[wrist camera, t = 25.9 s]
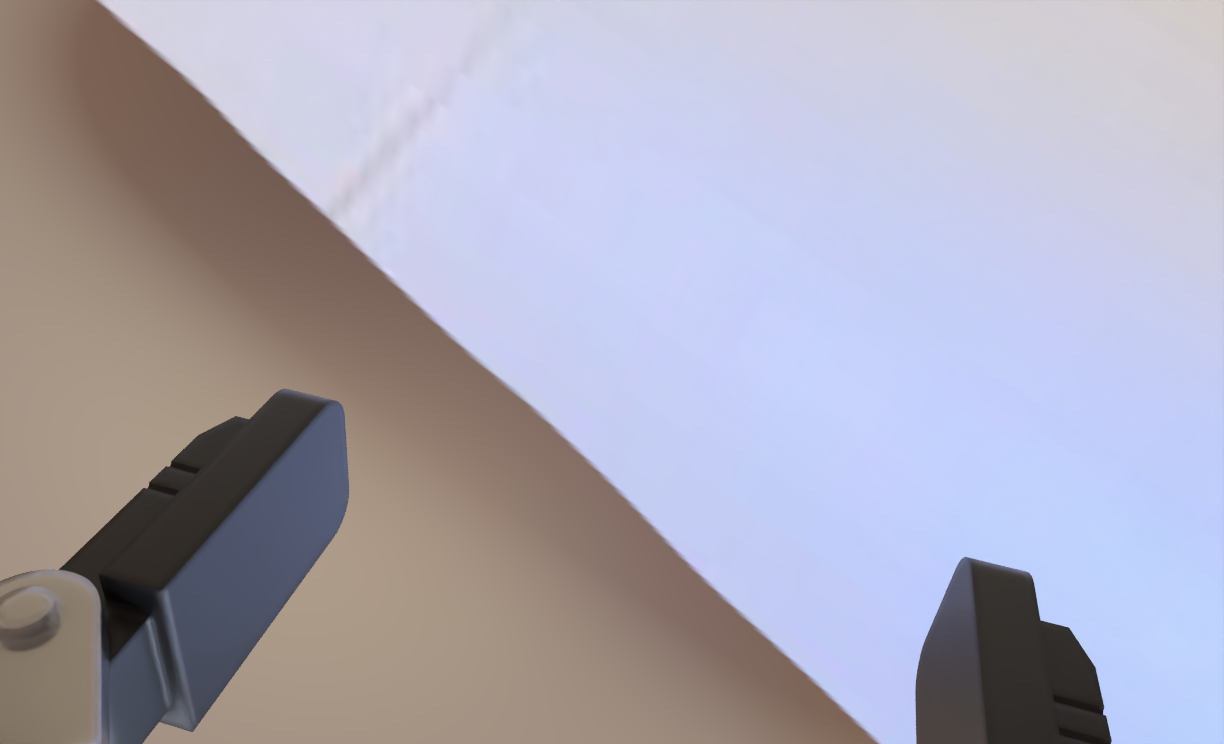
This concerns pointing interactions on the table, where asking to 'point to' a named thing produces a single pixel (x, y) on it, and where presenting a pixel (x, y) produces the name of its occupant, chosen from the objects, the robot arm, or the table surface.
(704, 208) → the table surface
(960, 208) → the table surface
